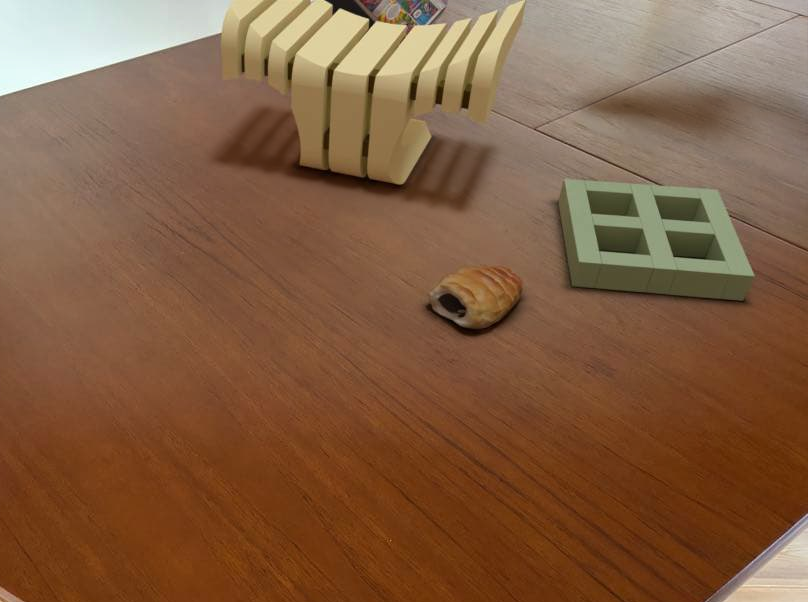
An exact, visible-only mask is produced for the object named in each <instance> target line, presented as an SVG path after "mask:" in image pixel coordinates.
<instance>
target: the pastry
mask: <svg viewBox="0 0 808 602" xmlns="http://www.w3.org/2000/svg"><path fill="white" fill-rule="evenodd" d="M523 289H524V286H523V280H522V279H521V278H520V276H518V275H517V273H515V272H513V271H512V269H511V268H510V267H505V266H502V265H491V266H488V265H483V266H475V265H471V266H470V267H469V268H467V267H462V268H460V269H458V270H457V271H456V273H448V274H446V275H445V276H444V277H442V278H441V280H440V282H439V283H438V285H436V286H435V288H433V290H432V291H430V292H429V293H428V302H429V303H430V304H431V308H432V310H433V311H434V312H435V313H437V314H439V315H440V316H442V317H444V318H446V319H447V320H451V321H453V322H454V323H456V324H457V325H458V326H459V327H461V328H466V329H473V330H481V329H485V328H489V327H490V326H491V325H493V324H495V323H498V322H499V321H500V320H502V319H503V318H504V317H505V316H506V315H507V314H508V313H509V312H510V311H511V309H512V308H513V307H514V306H515V304H517V302H518V301H519V299H520V297H521V294H522V292H523V291H524V290H523Z"/></svg>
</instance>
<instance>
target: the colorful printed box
mask: <svg viewBox="0 0 808 602" xmlns="http://www.w3.org/2000/svg"><path fill="white" fill-rule="evenodd" d="M314 1H315V0H311V4H312V3H313V2H314ZM325 1H326V2H328V3H330V4H332V5H333V10H332V16H333V15H334V14H335V13H336V12H337V11H338V10H339V9H343V10H345V11H347V12H350V13H352V14H355V15H358V16H361V17H364V18H367V19H369V29H370V28H371V27H372V26H373V25H374V24H375V22H376V21H379V22H384V23H389V24H398V25H407V30H406V35H405V36H404V38H403V39H402V40H401V42H400V43H399V45H400V44H401V43H402V41H403V40H404V39H405V38H406V36H407V35H408V34H409V32H410V31H411V30H412V28H413V27H414V26H418V25H435V24H437V23H436V22H437V21H438V20H439V19H440V18H441V17H442V16H443V15H444V14H445V13H446V12H447V10H448V9H449V7H448V6H447V5H448V2H449V0H325ZM332 16H331V17H332ZM331 17H330V18H331ZM369 29H368V30H369ZM368 30H367V31H366V32H365V34H366V33H367V32H368ZM365 34H364V35H365ZM364 35H363V36H364ZM363 36H362V37H363ZM362 37H361V39H362ZM361 39H360V40H361ZM360 40H359V41H360ZM359 41H358V42H359ZM399 45H398V46H397V48H398V47H399ZM397 48H396V49H397ZM396 49H395V51H396ZM395 51H394V52H395ZM394 52H393V53H394Z"/></svg>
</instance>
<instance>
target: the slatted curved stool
mask: <svg viewBox="0 0 808 602" xmlns="http://www.w3.org/2000/svg"><path fill="white" fill-rule="evenodd" d="M311 2H312V0H232V1H231V2H230V4H229V6H228V7H227V10H226V12H225V15H224V18H223V23H222V27H221V35H220V53H221V74H222V76H221V77H222V81H226V80H237V79H239V78H240V77H241V76H242V75H243V74H244V79H245V80H250V81H256V82H262V81H263V80H264V79H265V77H267V84H268V86H270V87H272V88H273V89H275V90H276V91H278V92H279V93H280V94H281V95H282V96H285V95H286V94H287V93H288V91H289V90H290V91H291V93H290V94H291V95H290V96H291V97H290V99H291V100H290V103H291V104H290V107H291V108H290V109H291V111H292V114H293V117H294V120H295V124H296V127H297V132H298V136H299V140H300V141H299V142H300V159H299V166H303V167H306V168H307V167H308V168H312V169H317V170H322V171H328V170H329V169H330V171H331V172H333V173H337V174H343V175H348V176H353V177H358V178H365V177H368V178H369V179H370V180H374V181H379V182H384V183H385V182H386V183H390V184H395V185H401V186H402V185H403V184H405V182H406V181H407V179H408V178H409V176H410V175H411V172H412V171H413V169H414V167H415V166H416V164H417V163H418V160H419V159H420V157H421V155H422V154H423V152H424V150H425V149H426V147H427V145H428V144H429V142H430V140H431V138H432V137H433V136H432V135H431V132H430V130H429V128H428V126H427V121H426V120H421V119H414V118H416V117H418V116H421V115H423V114H428V113H432V112H433V111H434V109H435V108H436V106H437V105H441V107H440V113H448V114H453V115H459V114H460V112H461V111H462V109H464V110H467V114H466V118H467V119H471V120H473V121H476V122H478V123H480V124H482V125H485V123H486V121H487V119H488V117H489V115H490V114H491V112H492V110H493V108H494V103H495V99H496V98H495V97H496V93H497V89H498V86H499V81H500V78H501V75H502V71H503V69H504V66H505V62H506V59H507V57H508V54H509V52H510V49H511V47H512V45H513V43H514V40H515V39H516V36H517V34H518V32H519V30H520V28H521V26H522V24H523V18H524V12H525V7H526V3H527V0H520V1H517V2H515V3H513V4H510V5H507V7H506V9H505V10H504V11H503V13H502V15H501V17H500V18H499V20H498V15H499V9H496V10H493V11H491V12H488V13H484V14H480V15H479V17H478V19H477V21H476V22H475V24H474V25H473V26H472V20H473V18H472V17H469V18H465V19H462V20H457V21H454V22H453V24H452V25H451V27H450V28H449V29H448V31H447V24H448V23H447V22H446V23H445V22H444V23H436V24H435V25H418V26H414V27H413V28H412V30H411V31H410V32H409V34H408V35H407V36H406V38H405V39H404V40H403V41H402V43H401V44H400V45H399V43H400V42H401V40H402V39H403V38H404V36H405V35H406V30H407V25H398V24H389V23H384V22H379V21H376V22H375V24H374V25H373V26H372V27H371V28H370V29H369V19H367V18H364V17H361V16H358V15H355V14H352V13H350V12H347V11H345V10H343V9H339V10H338V11H337V12H336V13H335V14H334V15H333V16H332V10H333V5H332V4H330V3H328V2H326V1H325V0H315V1H314V2H313V3H312V4H311ZM331 16H332V17H331ZM330 17H331V18H330ZM497 20H498V21H497ZM471 26H472V28H471ZM368 29H369V30H368ZM367 30H368V32H367V33H366V34H365V32H366V31H367ZM446 32H447V33H446ZM364 34H365V35H364ZM363 35H364V36H363ZM362 36H363V37H362ZM361 37H362V39H361ZM360 39H361V40H360ZM359 40H360V41H359ZM358 41H359V42H358ZM398 45H399V47H398V48H397V46H398ZM396 48H397V49H396ZM395 49H396V51H395ZM394 51H395V52H394ZM393 52H394V53H393ZM412 117H413V118H412Z"/></svg>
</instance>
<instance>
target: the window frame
mask: <svg viewBox="0 0 808 602" xmlns="http://www.w3.org/2000/svg"><path fill="white" fill-rule="evenodd" d="M557 204H558V209H559V216H560V221H561V228H562V234H563V240H564V241H563V242H564V246H565V253H566V258H567V264H568V265H567V266H568V271H569V277H570V282H571V287H577V288H586V289H587V288H588V289H590V288H591V289H601V290H611V291H621V292H623V291H624V292H636V293H648V294H659V295H670V296H681V297H692V298H705V299H714V300H715V299H716V300H728V301H741V302H742V301H744V300H745V298H746V296H747V293H748V291H749V289H750V287H751V286H752V283H753V280H754V278H755V273H754V270H753V269H752V267H751V264H750V262H749V259H748V257H747V255H746V252H745V250H744V248H743V246H742V243H741V241H740V238H739V236H738V234H737V231H736V228H735V226H734V224H733V222H732V219H731V217H730V215H729V213H728V210H727V207H726V205H725V203H724V200H723V199H722V196H721V193H720V192H719V190H718V189H713V188H699V187H698V188H697V187H685V186H684V187H683V186H672V185H657V184H644V183H643V184H642V183H628V182H627V183H626V182H615V181H602V180H601V181H600V180H584V179H573V178H563V182H562V185H561V189H560V193H559V197H558V201H557Z"/></svg>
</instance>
